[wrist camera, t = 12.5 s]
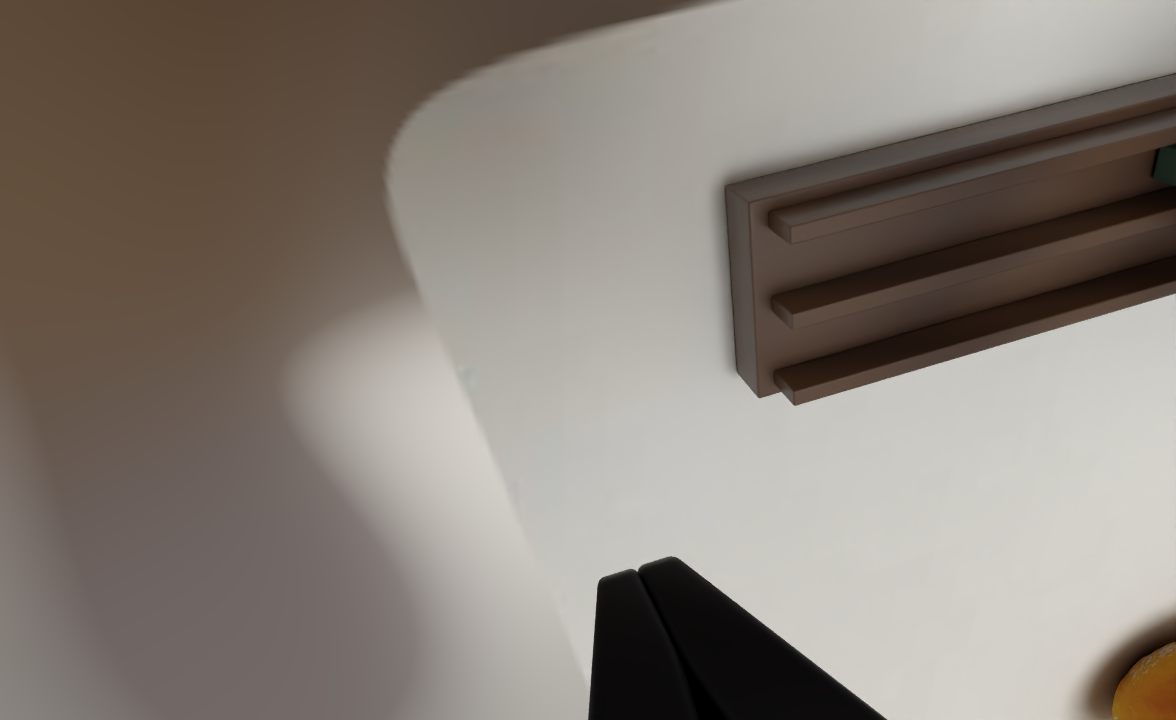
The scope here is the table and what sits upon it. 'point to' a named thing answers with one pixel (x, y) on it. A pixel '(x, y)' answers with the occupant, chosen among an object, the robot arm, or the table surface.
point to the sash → (1166, 165)
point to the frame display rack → (951, 242)
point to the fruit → (1148, 688)
